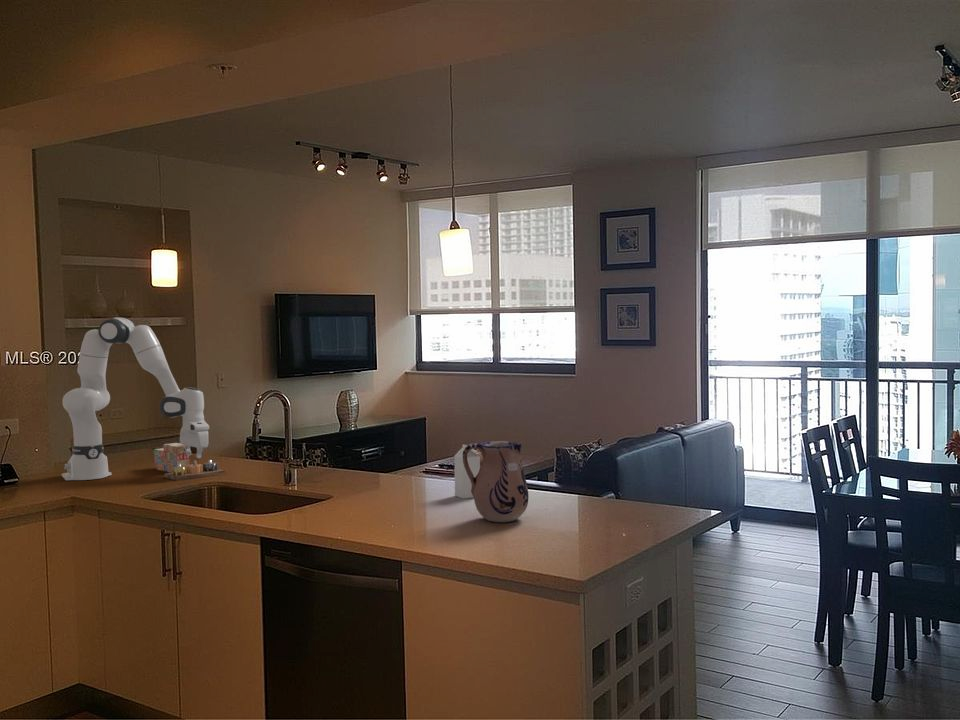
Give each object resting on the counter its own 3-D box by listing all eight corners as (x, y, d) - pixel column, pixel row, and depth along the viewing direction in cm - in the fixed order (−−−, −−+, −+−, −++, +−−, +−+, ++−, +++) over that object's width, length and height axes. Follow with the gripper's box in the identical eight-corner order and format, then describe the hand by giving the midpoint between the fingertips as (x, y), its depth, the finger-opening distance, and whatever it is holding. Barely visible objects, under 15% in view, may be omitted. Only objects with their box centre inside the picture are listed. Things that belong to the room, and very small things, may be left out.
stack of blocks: (154, 469, 385) (153, 442, 384) (167, 467, 389) (166, 440, 389) (177, 474, 370) (176, 446, 370) (190, 472, 375) (189, 444, 374)
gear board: (164, 477, 362) (163, 462, 362) (212, 470, 377) (212, 456, 377) (176, 480, 353) (176, 465, 353) (225, 474, 369) (225, 459, 368)
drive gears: (168, 474, 361) (168, 463, 360) (213, 468, 375) (213, 458, 374) (175, 476, 356) (175, 465, 356) (220, 470, 370) (220, 459, 370)
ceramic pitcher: (532, 525, 266) (531, 445, 265) (465, 527, 264) (464, 447, 263) (524, 513, 283) (524, 438, 282) (462, 515, 282) (461, 440, 281)
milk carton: (463, 499, 308) (462, 447, 307) (454, 495, 314) (454, 445, 314) (480, 497, 311) (479, 445, 311) (471, 494, 318) (471, 443, 317)
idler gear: (184, 472, 365) (184, 465, 365) (198, 470, 370) (198, 463, 370) (191, 473, 361) (191, 466, 361) (205, 472, 365) (204, 465, 365)
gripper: (175, 423, 370) (176, 454, 370) (197, 427, 355) (197, 460, 356) (189, 422, 374) (189, 453, 375) (211, 426, 360) (211, 458, 360)
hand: (193, 456), depth 365 cm, fingers open, 8 cm apart
